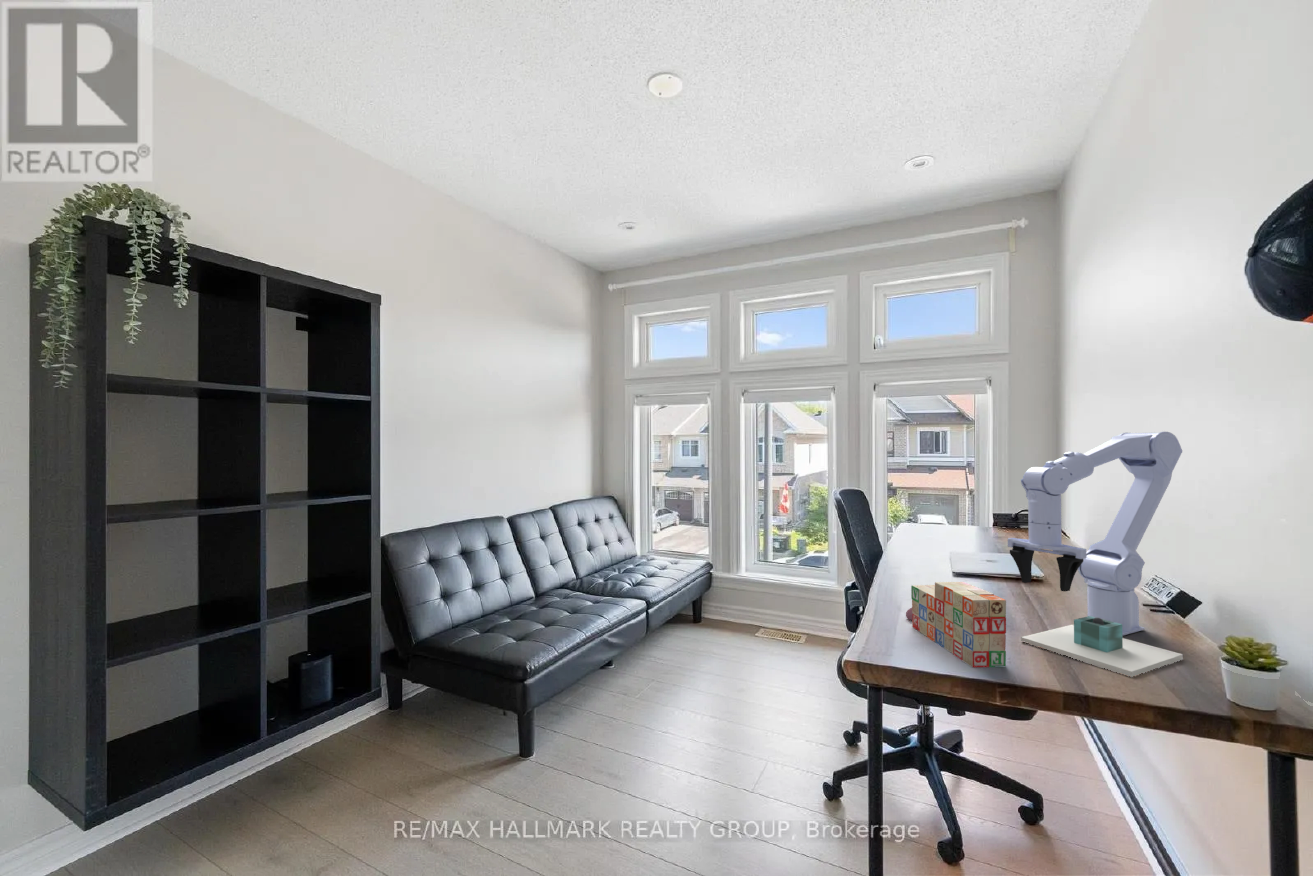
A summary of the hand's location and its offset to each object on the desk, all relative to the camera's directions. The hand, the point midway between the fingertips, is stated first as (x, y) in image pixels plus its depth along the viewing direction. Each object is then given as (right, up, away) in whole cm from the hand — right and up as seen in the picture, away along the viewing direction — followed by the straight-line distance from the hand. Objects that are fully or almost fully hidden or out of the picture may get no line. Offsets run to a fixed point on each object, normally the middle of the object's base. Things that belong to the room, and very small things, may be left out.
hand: (1045, 586), depth 113 cm
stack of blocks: (-24, -10, -9) cm, 28 cm away
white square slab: (+2, -9, -11) cm, 15 cm away
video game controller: (-21, -10, +7) cm, 24 cm away
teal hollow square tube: (+2, -8, -11) cm, 14 cm away
